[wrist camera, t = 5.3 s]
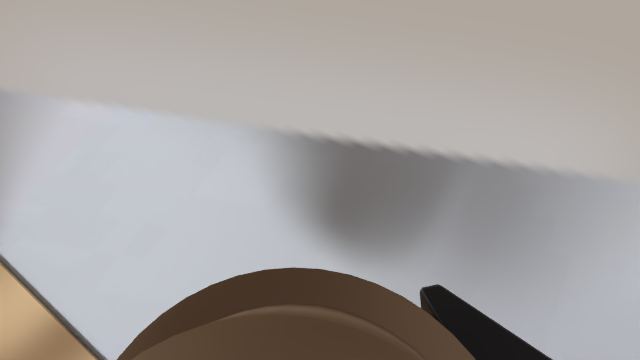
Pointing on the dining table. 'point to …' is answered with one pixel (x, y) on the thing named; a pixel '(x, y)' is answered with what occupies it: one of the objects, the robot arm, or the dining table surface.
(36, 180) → the dining table surface
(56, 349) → the board
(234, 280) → the pepper mill
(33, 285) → the dining table surface
